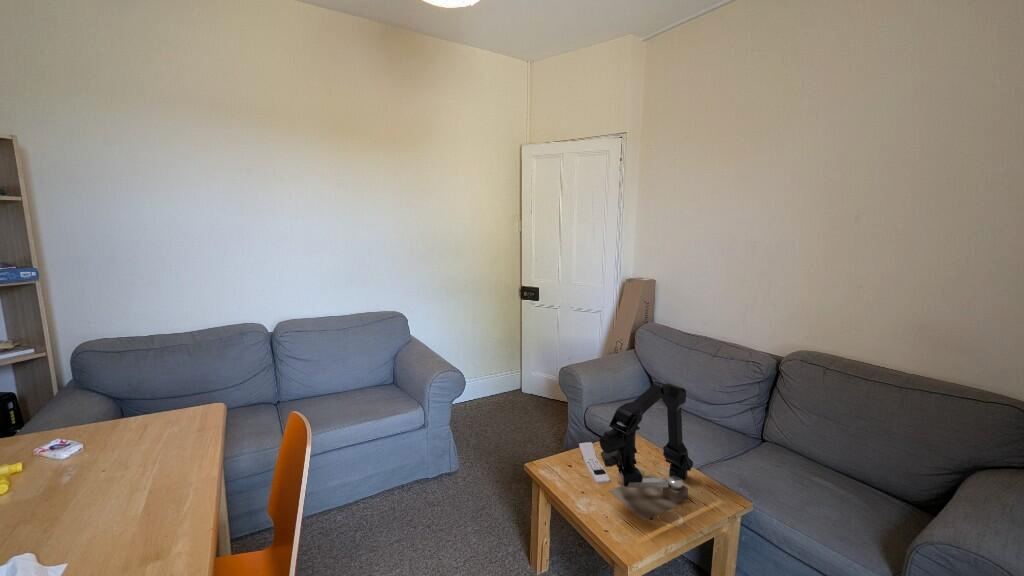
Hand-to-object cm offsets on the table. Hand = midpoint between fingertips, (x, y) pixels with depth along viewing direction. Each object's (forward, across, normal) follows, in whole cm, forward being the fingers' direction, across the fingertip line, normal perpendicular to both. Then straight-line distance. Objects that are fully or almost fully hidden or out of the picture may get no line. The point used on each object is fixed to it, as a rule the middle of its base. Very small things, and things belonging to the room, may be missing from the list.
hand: (625, 485), depth 144 cm
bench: (+9, -6, +10) cm, 14 cm away
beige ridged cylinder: (+8, -12, +8) cm, 16 cm away
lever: (+3, -5, +10) cm, 12 cm away
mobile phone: (+10, -24, -6) cm, 26 cm away
